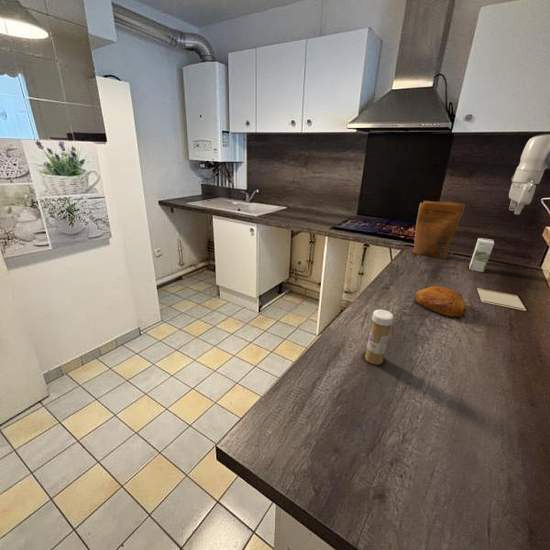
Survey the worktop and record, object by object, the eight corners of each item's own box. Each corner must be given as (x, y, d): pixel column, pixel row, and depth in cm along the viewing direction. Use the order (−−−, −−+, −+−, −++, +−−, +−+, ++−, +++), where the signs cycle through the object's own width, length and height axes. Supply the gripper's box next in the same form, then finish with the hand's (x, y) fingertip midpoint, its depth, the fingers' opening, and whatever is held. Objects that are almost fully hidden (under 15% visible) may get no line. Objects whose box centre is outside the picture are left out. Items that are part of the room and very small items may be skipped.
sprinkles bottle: (360, 356, 75) (369, 310, 69) (374, 352, 76) (384, 307, 71) (373, 367, 71) (382, 320, 65) (387, 363, 73) (398, 316, 67)
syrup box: (483, 269, 136) (493, 239, 130) (483, 273, 131) (494, 242, 125) (468, 266, 138) (478, 237, 132) (469, 270, 134) (479, 240, 128)
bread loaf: (448, 328, 92) (459, 308, 88) (406, 301, 103) (414, 282, 99) (471, 315, 99) (482, 296, 95) (430, 291, 110) (437, 273, 106)
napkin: (516, 296, 110) (517, 295, 110) (526, 311, 99) (526, 310, 99) (476, 288, 115) (477, 287, 115) (481, 302, 105) (481, 301, 104)
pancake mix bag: (449, 261, 144) (465, 204, 133) (408, 254, 153) (420, 199, 141) (449, 257, 149) (465, 202, 138) (410, 250, 158) (422, 198, 147)
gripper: (544, 180, 108) (529, 217, 113) (529, 177, 125) (517, 209, 130) (523, 179, 110) (510, 215, 116) (511, 175, 127) (500, 207, 133)
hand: (513, 212), depth 123 cm, fingers open, 8 cm apart
